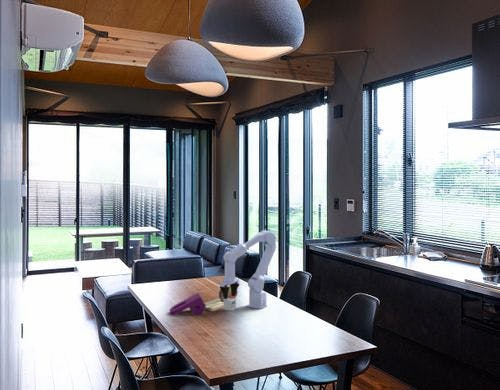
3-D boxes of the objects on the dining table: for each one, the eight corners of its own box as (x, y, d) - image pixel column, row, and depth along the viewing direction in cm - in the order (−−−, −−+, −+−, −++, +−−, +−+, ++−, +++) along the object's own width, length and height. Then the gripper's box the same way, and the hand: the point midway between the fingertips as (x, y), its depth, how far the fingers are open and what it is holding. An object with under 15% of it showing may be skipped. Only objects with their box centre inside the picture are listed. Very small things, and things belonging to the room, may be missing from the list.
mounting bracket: (177, 326, 246) (207, 310, 250) (170, 313, 245) (200, 296, 249) (175, 321, 255) (204, 305, 259) (168, 308, 254) (198, 292, 258)
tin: (221, 303, 272) (221, 289, 272) (217, 302, 274) (217, 288, 274) (237, 298, 284) (237, 284, 284) (233, 297, 286) (233, 284, 286)
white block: (236, 309, 260) (236, 299, 260) (232, 311, 256) (232, 301, 256) (228, 307, 263) (228, 297, 263) (223, 309, 259) (223, 299, 259)
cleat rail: (227, 305, 267) (227, 300, 267) (212, 311, 255) (212, 305, 255) (218, 303, 270) (218, 298, 270) (203, 309, 258) (203, 303, 258)
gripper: (231, 270, 267) (231, 293, 268) (216, 274, 255) (215, 298, 256) (241, 271, 264) (241, 295, 264) (226, 276, 251) (226, 300, 252)
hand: (229, 297), depth 259 cm, fingers open, 7 cm apart
